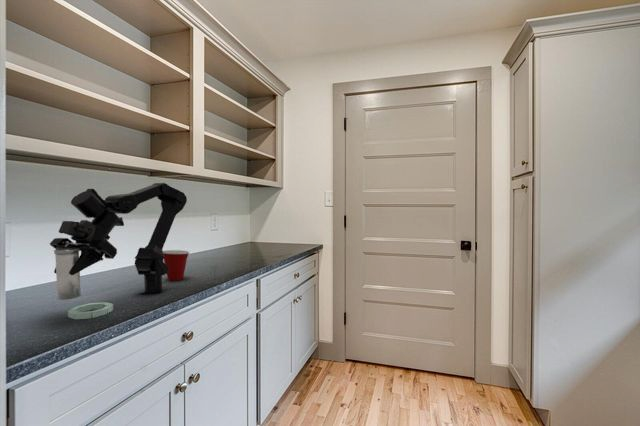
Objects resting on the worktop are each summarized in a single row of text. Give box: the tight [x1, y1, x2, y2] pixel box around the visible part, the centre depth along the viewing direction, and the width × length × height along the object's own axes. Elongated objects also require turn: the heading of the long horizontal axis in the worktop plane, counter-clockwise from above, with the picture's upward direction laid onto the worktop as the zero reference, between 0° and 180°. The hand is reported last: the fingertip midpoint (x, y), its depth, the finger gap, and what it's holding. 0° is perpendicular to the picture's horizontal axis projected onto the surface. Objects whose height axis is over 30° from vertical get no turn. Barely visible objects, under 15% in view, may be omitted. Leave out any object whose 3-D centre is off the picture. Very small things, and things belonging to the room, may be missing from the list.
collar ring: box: [67, 301, 114, 320], centre depth 94 cm, size 10×10×2 cm
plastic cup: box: [163, 249, 191, 282], centre depth 135 cm, size 11×11×12 cm
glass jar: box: [53, 248, 82, 301], centre depth 88 cm, size 5×5×13 cm
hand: (63, 273), depth 86 cm, fingers closed on glass jar, 5 cm apart
